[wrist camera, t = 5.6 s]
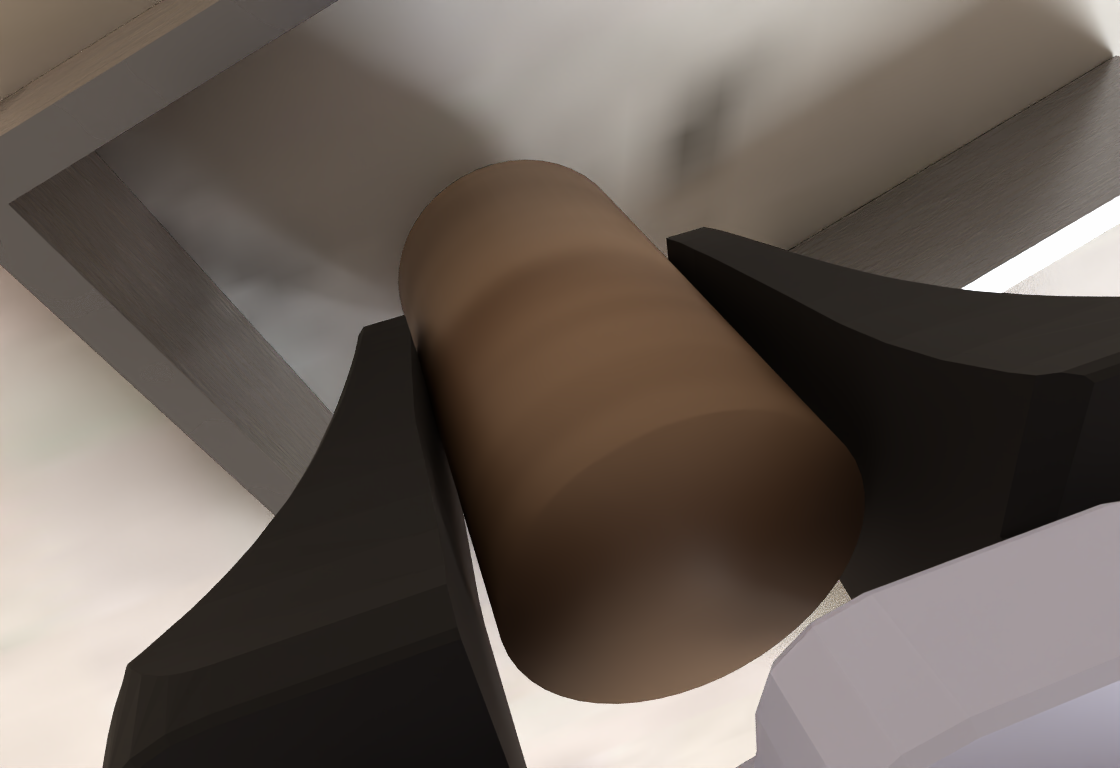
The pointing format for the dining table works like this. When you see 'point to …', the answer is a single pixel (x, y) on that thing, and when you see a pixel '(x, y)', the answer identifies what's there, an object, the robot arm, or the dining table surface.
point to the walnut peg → (615, 443)
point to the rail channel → (267, 380)
